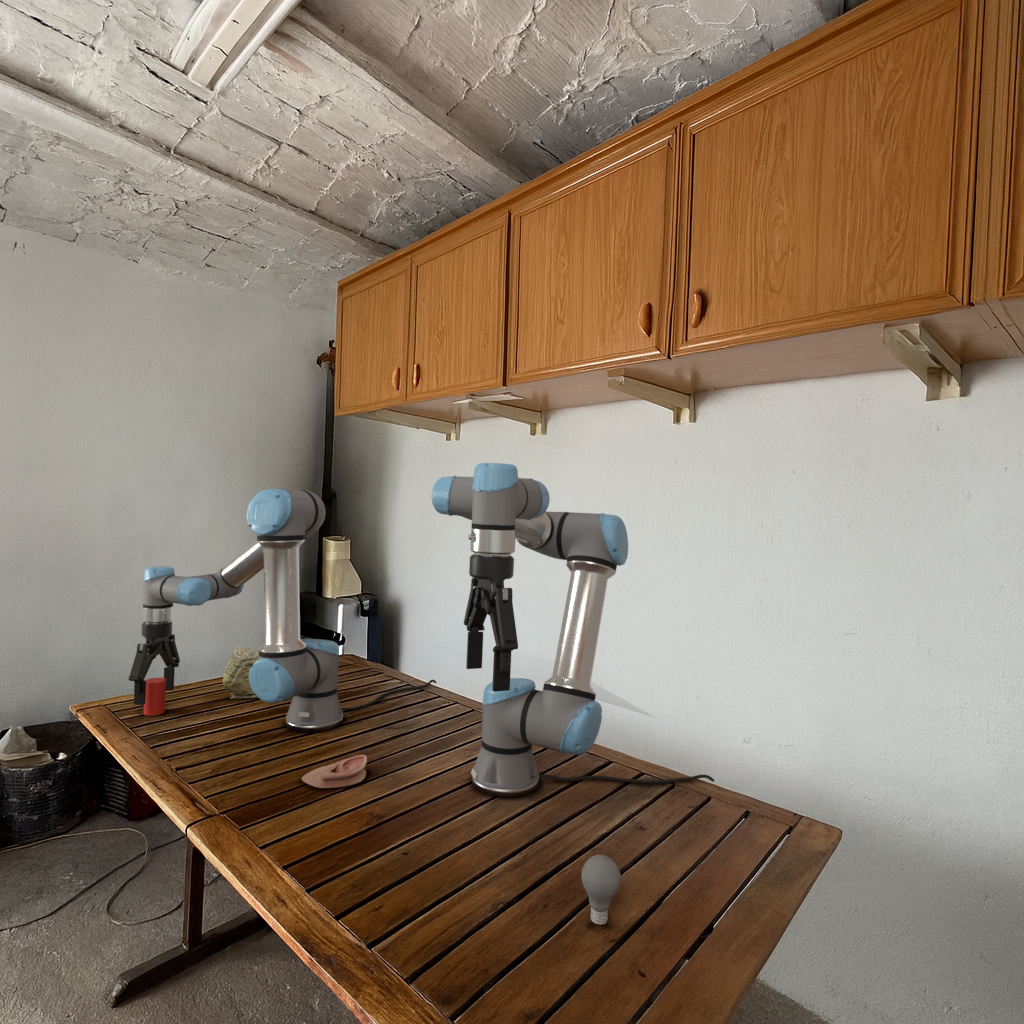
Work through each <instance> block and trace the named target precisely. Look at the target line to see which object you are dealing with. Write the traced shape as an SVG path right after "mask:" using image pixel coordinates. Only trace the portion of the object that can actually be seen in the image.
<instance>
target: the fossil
mask: <svg viewBox="0 0 1024 1024" xmlns="http://www.w3.org/2000/svg"><path fill="white" fill-rule="evenodd" d="M259 648H260V647H258V648H251V647H247V646H246V647H245V646H238V647H237V648H236V649H235V650H233V651H232V653H231V656H230V657H229V659H228V660H227V663H226V666H225V668H224V671H223V675H222V676H223V677H222V685H223V687H224V688H225V690H226V691H228V693H229V698H230V699H250V698H258V696H257V694H255V693H254V692H253V690H252V688H251V686H250V683H249V671H250V668H251V667H252V666H253V664H254V663H255V662H256V661H258V660H259Z"/></svg>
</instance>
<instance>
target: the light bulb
mask: <svg viewBox="0 0 1024 1024" xmlns="http://www.w3.org/2000/svg"><path fill="white" fill-rule="evenodd" d="M621 875H622V874H621V871H620V868H619V867H618V865H617V863H616V862H615V861H614V860H613V859H612V858H611V857H609V856H608V855H605V854H595V855H592V856H590V857H589V858H588V859H587V860H586V861H585V862H584V864H583V866H582V869H581V875H580V877H581V883H582V886H583V888H584V890H585V892H586V894H587V896H588V902H589V905H590V920H591V922H593V923H594V924H596V925H601V926H602V925H606V924H607V922H608V918H609V917H608V914H609V908H610V906H611V903H612V900H613V898H614V897H615V895H616V894H617V892H618V891H619V889H620V885H621V880H622V876H621Z"/></svg>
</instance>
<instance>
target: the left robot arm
mask: <svg viewBox="0 0 1024 1024" xmlns="http://www.w3.org/2000/svg"><path fill="white" fill-rule="evenodd" d="M248 503H249V504H248V506H247V510H246V522H247V525H248V527H250V530H251V531H252V532H253V533H254V534H256V540H255V541H253V542H252V543H251V544H250V545H248V546H247V547H246V548H245V549H243V550H242V551H241V552H240V553H238V554H237V555H236V556H234V558H233V559H231V560H230V561H229V562H227V563H226V564H225V565H224V566H223V567H221V568H220V569H219V570H218V571H216V572H215V573H209V574H208V573H207V574H200V575H192V576H191V575H190V576H183V575H182V576H181V575H176V573H175V568H174V567H171V566H164V565H163V566H161V565H160V566H159V565H157V566H148V567H147V568H145V570H144V572H143V581H142V619H141V621H142V623H141V636H142V637H144V638H145V641H144V643H138V644H137V645H136V653H135V656H134V658H133V662H132V666H131V669H130V672H129V676H128V681H130V682H133V683H134V685H133V692H134V694H133V705H136V706H144V705H145V699H146V681H145V680H146V676H147V674H148V672H149V670H150V668H151V665H152V663H153V661H154V660H155V659H156V658H157V657H158V656H160V658H161V659H162V661H163V664H164V665H165V667H163V678H165V679H166V691H174V689H175V669H176V668H179V666H180V663H181V659H180V656H179V651H178V647H177V644H176V635H175V633H173V622H172V620H174V604H177V605H184V606H187V607H188V606H189V607H192V606H195V607H198V606H202V605H204V604H205V603H206V602H209V601H213V600H220V599H221V600H222V599H229V598H232V597H236V596H238V595H239V594H241V593H242V591H243V589H244V586H245V584H246V583H248V581H249V580H251V579H252V578H254V577H255V576H256V575H257V574H259V573H260V572H261V571H262V570H263V603H264V604H263V605H264V606H263V607H264V608H263V609H264V610H263V612H264V613H263V614H264V642H263V643H262V644H261V645H260V646H259V647H258V648H259V660H258V661H256V662H255V663H254V664H253V666H252V667H251V668H250V671H249V683H250V686H251V688H252V690H253V692H254V693H255V694H257V696H258V697H257V698H258V699H259V700H260V701H263V702H265V703H267V704H278V703H281V702H286V701H288V700H291V702H290V704H289V708H288V711H287V713H286V715H285V726H286V728H287V729H289V730H291V731H294V732H295V731H296V732H301V733H316V732H325V731H329V730H332V729H335V728H337V727H339V726H340V725H342V723H343V722H344V713H343V711H353V710H357V709H358V710H359V709H362V708H366V707H368V706H371V705H373V704H376V702H379V700H380V699H381V698H383V697H386V696H388V695H390V694H394V693H399V692H403V691H409V690H418V689H423V688H426V687H428V686H429V685H430V684H432V683H434V684H437V683H438V682H437V681H436V680H435V679H431V680H429V681H428V682H427V683H425V684H423V685H417V686H416V685H415V686H408V687H402V688H396V689H393V690H389V691H387V692H384V693H382V694H380V695H378V696H377V698H375V699H373V700H371V701H369V702H366V703H364V704H360V705H356V706H350V707H342V706H341V702H340V699H339V695H338V682H339V662H340V661H339V660H340V659H339V657H340V652H339V651H340V650H339V648H340V646H339V644H338V643H337V642H335V641H334V640H328V639H320V638H303V639H302V638H301V612H300V610H301V609H300V608H301V607H300V605H301V603H300V602H301V601H300V546H301V545H302V544H304V542H305V541H306V540H307V539H309V538H310V537H311V536H312V535H314V534H315V533H316V532H317V531H318V530H319V529H320V528H321V526H322V525H323V523H324V521H325V519H326V507H325V504H324V501H323V500H322V499H321V497H319V496H318V494H316V493H314V492H312V491H311V490H305V489H290V488H289V489H287V488H277V487H276V488H267V489H264V490H261V491H259V492H257V493H256V494H255V496H254V497H252V499H251V500H250V501H249V502H248Z"/></svg>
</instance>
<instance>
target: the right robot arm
mask: <svg viewBox="0 0 1024 1024" xmlns="http://www.w3.org/2000/svg"><path fill="white" fill-rule="evenodd" d="M517 468H518V467H517V466H516V465H515V464H513V463H502V462H501V463H499V462H481V463H477V464H476V465H475V466H474V470H473V476H457V475H452V476H442V477H439V478H438V479H437V480H436V481H435V483H434V484H433V487H432V490H431V491H432V492H431V502H432V505H433V509H434V510H435V511H436V512H437V513H438V514H440V515H445V516H449V517H452V516H457V517H462V518H465V519H467V520H469V521H471V525H470V526H471V530H470V534H468V536H467V537H468V538H467V539H468V540H470V551H471V552H472V553H473V554H471V555H470V556H469V567H468V568H469V569H468V574H469V576H470V577H472V578H471V580H470V591H469V595H468V599H467V605H466V610H465V615H464V618H463V619H464V620H463V625H464V626H465V627H466V631H467V644H466V665H465V668H466V670H475V669H477V670H478V669H483V651H484V631H486V629H485V625H484V624H485V621H486V619H487V616H489V620H490V624H491V628H492V632H493V637H494V642H495V645H494V647H493V648H492V652H493V662H492V663H493V664H492V665H493V666H492V667H493V668H492V681H491V682H490V683H488V684H487V685H486V686H485V687H484V690H483V696H482V697H483V698H482V702H481V705H482V717H481V740H480V741H481V743H480V749H479V752H478V755H477V758H476V760H475V763H474V766H473V767H472V769H471V772H470V774H471V784H472V786H473V788H475V789H476V790H477V791H478V792H481V793H483V794H486V795H488V796H492V797H499V798H516V797H517V798H518V797H523V796H526V795H529V794H531V793H533V792H534V791H536V790H537V789H538V787H539V781H540V779H539V778H544V779H549V780H556V781H561V782H579V781H585V780H606V781H614V782H622V783H632V784H633V783H634V784H652V785H653V784H655V785H656V784H671V783H677V782H686V781H694V780H697V779H707V780H709V781H710V782H713V783H714V782H716V780H715V779H714V778H713V777H712V776H710V775H708V774H697V775H694V776H693V775H692V776H686V777H677V778H669V779H636V778H635V779H631V778H621V777H613V776H608V775H607V776H606V775H586V776H584V775H583V776H577V777H562V776H555V775H550V774H545V773H539V770H538V767H537V763H536V760H535V756H534V751H533V746H536V747H540V748H542V749H547V750H552V751H556V752H560V754H565V755H567V754H568V755H573V756H583V755H585V754H586V753H588V752H589V751H590V750H591V748H592V746H594V743H595V742H596V739H597V737H598V734H599V732H600V729H601V724H602V719H603V715H602V713H603V708H602V705H601V703H600V702H598V701H597V700H596V697H597V692H596V691H595V689H594V688H593V686H592V677H593V671H594V666H595V659H596V653H597V647H598V642H599V635H600V629H601V623H602V618H603V611H604V605H605V600H606V599H605V598H606V592H607V588H608V581H609V579H611V578H612V577H614V576H615V575H616V573H617V568H618V567H620V566H623V565H625V564H626V562H627V560H628V556H629V537H628V532H627V527H626V524H625V522H624V521H623V519H622V518H621V517H620V516H618V515H617V514H609V513H608V514H607V513H604V512H600V513H591V512H574V511H573V512H572V511H571V512H569V511H547V510H548V508H549V505H550V501H551V497H550V492H549V490H548V488H547V487H546V485H545V484H544V483H543V482H541V481H539V480H537V479H534V478H530V477H529V478H525V477H519V470H518V469H517ZM516 541H517V543H518V544H519V545H520V546H522V547H524V548H526V549H529V550H531V551H533V552H536V553H538V554H540V555H543V556H546V557H548V558H553V559H556V560H563V561H566V564H565V566H566V567H567V568H568V570H569V572H570V579H569V583H568V590H567V594H566V600H565V605H564V611H563V616H562V621H561V627H560V633H559V638H558V643H557V649H556V655H555V660H554V665H553V670H552V675H551V676H550V678H548V679H546V680H545V681H544V682H543V686H542V690H538V689H536V687H537V686H536V682H535V681H534V680H532V679H530V678H525V677H524V678H523V677H511V673H512V672H511V671H512V669H511V668H512V652H513V651H514V650H518V649H519V642H518V635H517V634H518V633H517V625H516V618H515V611H514V604H513V588H512V587H505V580H510V579H513V577H514V569H515V568H514V567H515V557H514V556H512V554H514V553H515V552H516Z"/></svg>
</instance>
